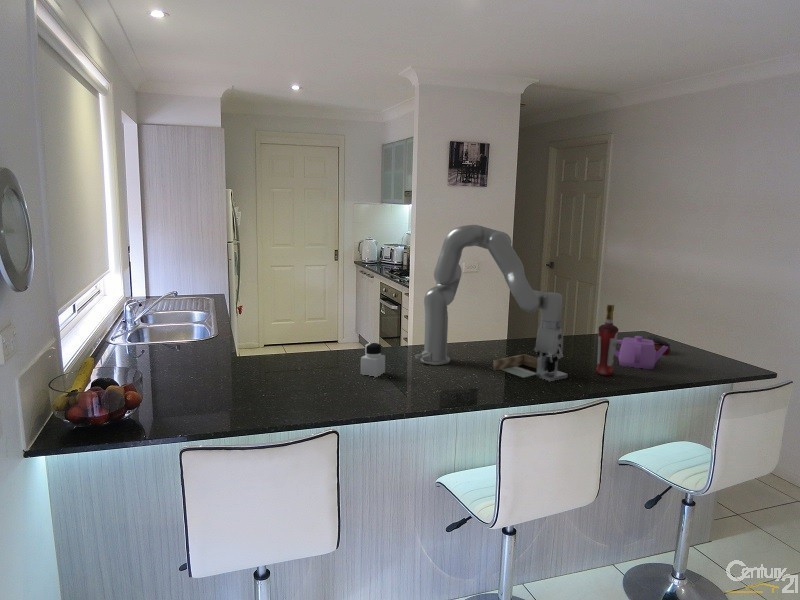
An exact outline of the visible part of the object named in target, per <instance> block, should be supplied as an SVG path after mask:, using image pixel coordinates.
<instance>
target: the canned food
mask: <svg viewBox="0 0 800 600" xmlns="http://www.w3.org/2000/svg"><path fill="white" fill-rule="evenodd" d="M647 339H648V340H653V341H654V347H655V352H657V351H658V350H659V349H660V348H662V347H663V345H664V346H667V347H668V349H667V350H666V351H665V352H664V353H663V354H662V356H669V355H670V354H671V344H670V343H668V342H667V341H666V340H663V339H662V338H660V337H658V336H656V335H653V334H649V335H648V336H647ZM668 354H669V355H668Z"/></svg>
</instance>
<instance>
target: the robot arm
mask: <svg viewBox="0 0 800 600" xmlns="http://www.w3.org/2000/svg"><path fill="white" fill-rule="evenodd" d="M468 247H480V248H483V249H486V250H488V252H489V254H490V255H491V257H492V258H493V261H494V262H495V264H496V265H497V267H498V269H500V272H501V274H502V275H503V277H504V281H505V282H506V285H507V286H508V289H509V291H510V293H511V295H512V296H513V298H514V300H515V301H516V303H517V305H518V306H519V308H520V309H521V310H522V311H524V312H526V313H529V314H530V313H534V312H536V311H537V310H539V309H540V311H541V313H540V323H539V324H540V325H539V327H538V330H537V334H536V341H535V346H534V348H533V350H534V351H535V352H536V353H537V357H541V356H546V355H550V362H549V364H548V372H553V371H554V370H555V362H557V360H558V361H559V360H560V359H562V358H564V355H563V353H564V335H563V329H562V328H563V324H562V312H563V311H562V310H563V309H562V308H563V295H562V294H561V293H559V292H555V291H554V292H553V291H549V292H548V291H547V292H545V291H540V290H536V289H533V288H532V287H531V285H530V283H529V282H528V280H527V277H526V274H525V268H524V264H523V262H522V260H521V259H520V257H519V256H518V254H517V252H516V250H515V249H514V247H513V246H512V238H511V236H510V235H509V234H508V233H506V232H504V231H501V230H497V229H493V228H490V227H486V226H482V225H479V224H468V225H462V226H458V227H455V228H453V229H452V230H450V231H449V232H448V233H447V235H446V236H445V238H444V240H443V243H442V246H441V249H440V252H439V255H438V259H437V262H436V265H435V268H434V271H433V279H434V281H435V282H436V283H435V285H434V286H433V287H431V288H429V289H428V290H427V292H426V293H425V295H424V299H423V300H424V301H423V305H424V342H423V343H424V345H423V347H424V349H423V350H422V351H421V353H417V354H415V355H414V359H415V360H420V362H421V363H423V364H426V365H430V366H431V365H432V366H433V365H434V366H440V365H441V366H442V365H448V364H449V363H451V358H450V357H449V356H448V355H447V353H448V352H447V351H448V333H449V329H448V328H449V326H448V325H449V324H448V323H449V313H448V306H450V304H452V303H453V301H454V300H455V298H456V297H455V296H456V293H457V291H458V288H459V284H460V281H461V279H462V267H461V265H460V260H461V258H462V253H463V250H464V248H468ZM557 354H558V356H557ZM553 356H554V358H553Z"/></svg>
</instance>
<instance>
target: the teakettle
mask: <svg viewBox="0 0 800 600" xmlns="http://www.w3.org/2000/svg"><path fill="white" fill-rule="evenodd" d="M616 344H617V345H618V344H620V348H619V350H618V349H617V348H616V349H615V357H617V358H618V364H619V366H620V365H622V366H621V367H625V366H628V367H627V368H631V367H634V368H633V369H639V368H643V369H642V370H650V369H652V370H654V368H655V365H656V362H658V360H659V359H660V358H661V357H662V356H663V355H662V354H663V353H664V352H665V351H666V350H667V349H668V347H667V346H664V345H663V347H662V348H660V349H659V350H658V351H657V352H655V347H654V344H655V342H654V341H653V340H649V339H648V338H644V337H643V336H642V335H634V337H627V336H626V337H623V338H622V339H617V343H616Z"/></svg>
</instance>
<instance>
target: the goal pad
mask: <svg viewBox="0 0 800 600" xmlns="http://www.w3.org/2000/svg"><path fill="white" fill-rule="evenodd" d="M501 371H503V372H505V373H509V374H512V375H514V376H518V377H521V378H529V377H532V376H533V377H534V376H536V374H537V372H535V371H531V370H529V369H526V368H523V367H520V366H515V367H510V368H506V369H501Z"/></svg>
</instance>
